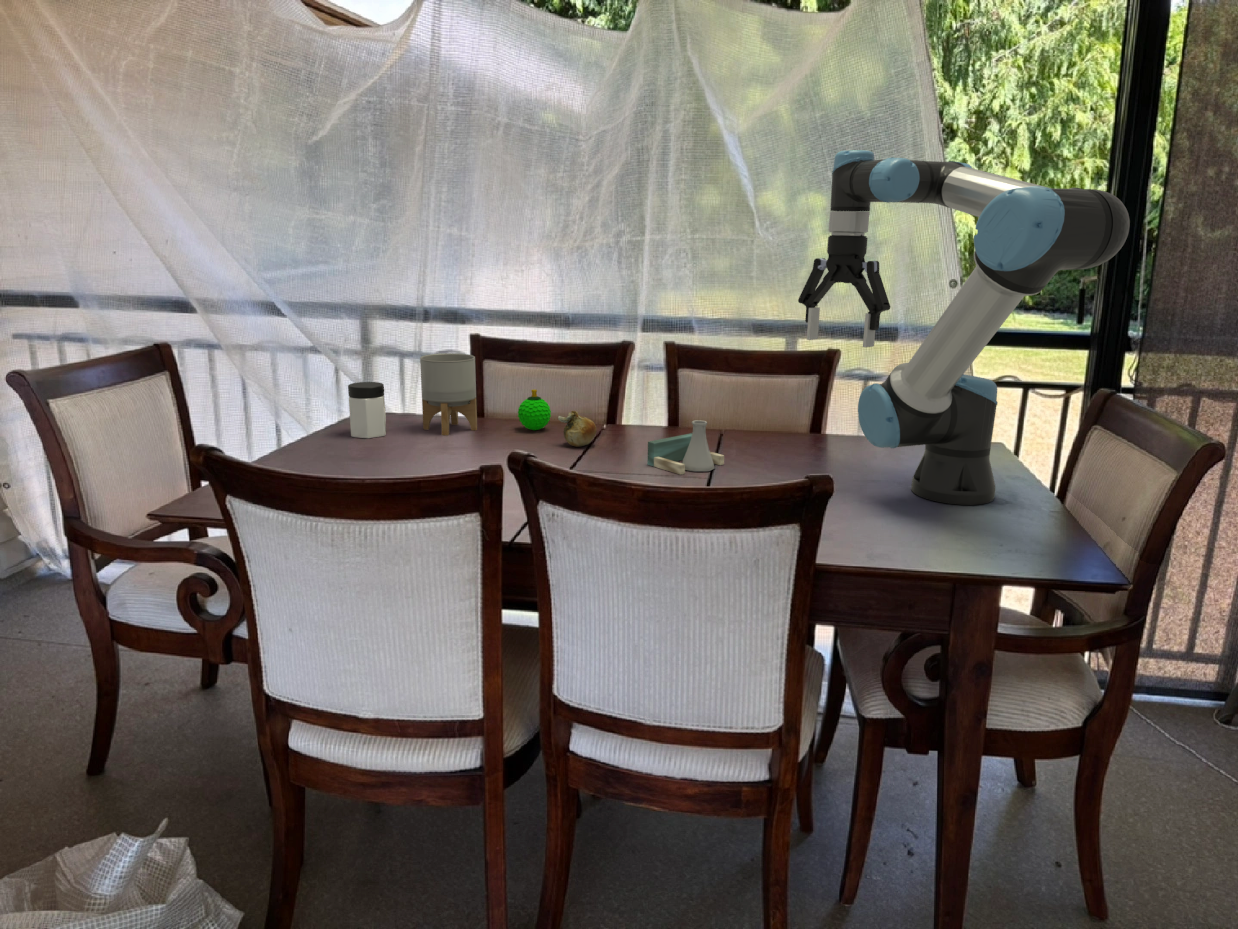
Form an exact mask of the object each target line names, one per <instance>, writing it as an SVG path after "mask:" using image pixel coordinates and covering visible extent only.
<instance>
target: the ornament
mask: <svg viewBox="0 0 1238 929" xmlns="http://www.w3.org/2000/svg"><path fill="white" fill-rule="evenodd" d="M530 391H531V396H528V397H527V398H526V399H524V400H523V401H522V402H521V403H520V404H519V406H518V411H517V414H518V415H517V417H518V418H519V422H520V423H521V425H522V426H524V427H525V429H527V430H532V431H540V430H542V429H544V428H545V427H546V426H547V425H548V423H549V422H550V421H551V420H550V419H551V417H552V414H551V413H552V411H551V407H550V405H549V403H548V402H546V401H545V399H542V397H541V396H538V394H537V392H538V389H530Z"/></svg>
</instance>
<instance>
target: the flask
mask: <svg viewBox="0 0 1238 929" xmlns="http://www.w3.org/2000/svg"><path fill="white" fill-rule="evenodd" d="M691 425H692V432H691V433H692V437H691V441H690V444H689V446H688V449H687V452H686V454H685V456H684V459H683V460H681V461H682V462H681V463H682V464H685V471H690V472H710V471H712V470H714V469H716V466H715V464H714V463H713V460H712V457H711V454H710V452H711V451H710V447H709V443H708V440H707V433H706V432H707V431H706V428H707V425H708V422H707V421H706V420H700V419H699V420H692V421H691Z"/></svg>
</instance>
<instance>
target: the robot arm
mask: <svg viewBox="0 0 1238 929" xmlns="http://www.w3.org/2000/svg"><path fill="white" fill-rule="evenodd" d="M833 160H834V161H833V169H832V173H831V176H832V177H831V194H830V211H829V220H828V232H829V233H831V235H829V236H828V237H827V248H826V252H827V255H828V258H827V259H826V258H825V257H824V258H823V257H822V258H821V257H820V258H814V260H813V265H812V270H811V271H810V273H809V277H808V278H807V281H806V283H805V284H804V286H803V288H802V291H801V293H800V295H799V297H798V299H797V301H798V303H799V304H802V305H804V306H805V317H804V318H805V319H804V320H805V323H806V324H807V330H806V341H807V340H808V341H814V340H818V339H819V327H820V326H819V325H820V314H821V313H820V312H821V310H820V309H821V307H819V303H820V302H821V301H822V300H823V298H824V297H825V296H826V295H827V293H828V292H829V291H830V289H831V288H832V287H833V286H834V285H835V284H836V283H838V284H839V283H843V284H851V286H853V287H854V288H855V290H856V291H857V293H858V294H859V296H860V298H861V300H862V302H863V303H864V305H865V306H866V308H867V310H868V311H867V313H864V314H865V315H864V328H863V338H862V348H871V347H873V348H874V347H875V340H876V339H875V338H876V331H878V330H879V328H880V321H881V320H880V319H881V313H884V312H886V311H889V310H890V309H891V305H890V301H889V298H888V295H887V292H886V290H885V286H884V282H883V279H882V276H881V274H880V261H878V260H869V261H866V260H865V256H866V254H867V249H868V237H867V235H865V234H867V233H868V232H869V225H870V224H869V223H870V211H871V203H886V204H887V203H888V204H890V203H901V204H902V203H904V204H905V203H907V204H908V203H909V204H911V203H912V204H934V205H939V206H942V207H945V208H949V209H953V210H956V211H959V212H961V213H965V214H967V215H971V216H974V217H978V219H977V222H976V225H975V230H977V233H976V234H975V235H974V234H973V245H974V253H973V261H974V263H975V267H974V269H973V271H972V272H971V273H970V274H969V276H968V278H967V279H966V280H965V282H964V283H963V285H962V286H961V287H960V289H959V290H958V292H957V293H956V294H955V296H954V297H953V299H952V300H951V302H950V303H948V306H947V307H946V309H945V310H944V311H943V313H942V314H941V316H940V317H939V319H938V320H937V321H936V323H935V324H934V326H933V327H932V329H931V330H930V331H929V333H928V334H927V336H926V337H925V338H924V340H923V341H922V343H921V344H920V346H919V347H918V348H917V350H916V351H915V353H914V354H913V356H912V357H911V359H910V360H909V361H908V362H903V363H900V364H898V365H896V366H895V367H894V368H893V369H892V370H891V372H890V373H889V375H888V376H887V378H886V379H885V381H884V382H881V383H878V382H876V383H875V382H874V383H872V384H870V385H867V386H865V387H864V389H863V390H862V391H861V392H860V395H859V397H858V403H857V413H858V414H857V415H858V416H857V417H858V422H859V426H860V429H861V432H862V433H863V435H864V437H865V438H866V440H867V441H868V442H869V443H870V444H871V445H872V446H875V447H877V448H881V449H884V448H887V449H888V448H890V449H896V448H902V447H904V448H905V447H915V446H924V445H925V447H924V452H923V455H922V456H921V459H920V461H919V463H918V465H917V467H916V470H915V472H914V474H913V476H912V479H911V487H910V488H911V489H910V490H911V493H913V494H914V495H916V496H918V497H921V498H922V499H926V500H929V501H933V502H938V503H943V504H949V505H959V506H960V505H962V506H963V505H964V506H975V505H978V506H979V505H984V504H989V503H991V502H993V501H994V500H995V496H996V483H995V482H996V481H995V478H994V477H995V476H994V473H993V469H992V466H991V460H990V455H991V448H992V441H993V435H994V434H993V432H994V426H995V420H996V413H997V406H998V399H997V398H998V386H997V384H996V382H994V381H993V380H992V379H988V378H985V377H980V376H975V375H970V374H969V375H968V374H965V373H966V371H967V370H968V369H969V368H970V366H971V365H972V364H973V362H974V361H975V360H977V357H978V356H979V355H980V354H981V353H982V352H983V349H984V348H986V346H987V345H988V343H989V342H990V341H991V339H992V338H993V337H994V336H995V334H997V332H998V331H999V329H1001V327H1002V326H1003V325H1004V323H1005V322H1006V321H1007V320H1008V318H1009V317H1010V315H1011V314H1012V313H1013V311H1014V310H1015V309H1016V307H1018V305H1019V304H1020V302H1021V301H1022V300H1023V299H1024V297H1027V296H1035V295H1037V294H1039V293H1041V292H1042V291H1043V290H1044V289H1045V287H1046V286H1047V285H1048V283H1050V281H1051V280H1052V278H1054V276H1055V275H1056V273H1057V272H1059V271H1061V270H1063V271H1064V270H1088V269H1091V268H1094V267H1095V268H1096V267H1099V266H1100V265H1102V264H1104V263H1106V262H1108V261H1110V260H1111V259H1112V258H1113V257H1114V256H1116V255H1117V254H1118V252H1119V251H1120V250H1121V249H1122V247H1123V246H1124V245H1125V243H1126V240H1127V238H1128V236H1129V232H1130V223H1131V220H1130V216H1129V212H1128V210H1127V208H1126V206H1125V205H1124V203H1123V202H1122V201H1121V199H1119V198H1118V197H1117V196H1116V195H1114V194H1112V193H1110V192H1107V191H1104V190H1102V189H1101V190H1100V189H1095V188H1093V189H1092V188H1080V187H1070V188H1052V187H1048V186H1045V185H1040V184H1036V183H1032V182H1028V181H1024V180H1021V179H1015V178H1012V177H1008V176H1005V175H1000V174H996V173H992V172H988V171H985V170H980V169H976V168H974V167H972V165H970V164H968V163H965V162H960V161H953V160H950V161H937V160H936V161H930V160H929V161H927V160H918V159H917V160H914V159H908V158H905V157H894V156H893V157H887V158H883V159H875V154H874V152H873V151H871V150H863V149H862V150H861V149H857V150H856V149H855V150H853V149H852V150H851V149H850V150H841V151H838V152H837V153H836V154H835V156H834V159H833ZM826 269H827V271H828V272H827V273H826V274H825V275H824V272H825V270H826ZM863 272H866V275H867V279H866V277H865V275H864V274H863ZM823 275H824V277H823ZM822 277H823V278H822ZM821 280H822V281H821ZM867 280H868V282H869V285H870V286H869V285H868V282H867Z"/></svg>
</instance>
